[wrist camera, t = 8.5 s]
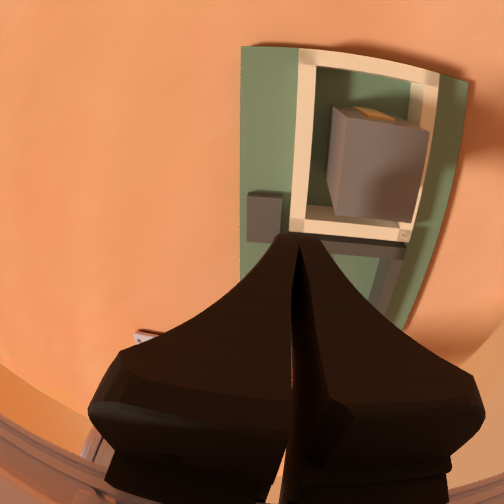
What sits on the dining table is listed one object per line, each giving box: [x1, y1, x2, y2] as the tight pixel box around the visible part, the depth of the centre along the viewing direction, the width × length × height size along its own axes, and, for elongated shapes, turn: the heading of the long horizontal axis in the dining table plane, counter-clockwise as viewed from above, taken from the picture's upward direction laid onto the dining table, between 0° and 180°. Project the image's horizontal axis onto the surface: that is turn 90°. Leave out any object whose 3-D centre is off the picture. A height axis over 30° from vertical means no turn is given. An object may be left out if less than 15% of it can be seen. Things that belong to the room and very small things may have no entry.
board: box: [240, 46, 469, 353], centre depth 18 cm, size 20×13×3 cm, turn 179°
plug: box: [325, 104, 430, 223], centre depth 13 cm, size 4×3×6 cm
